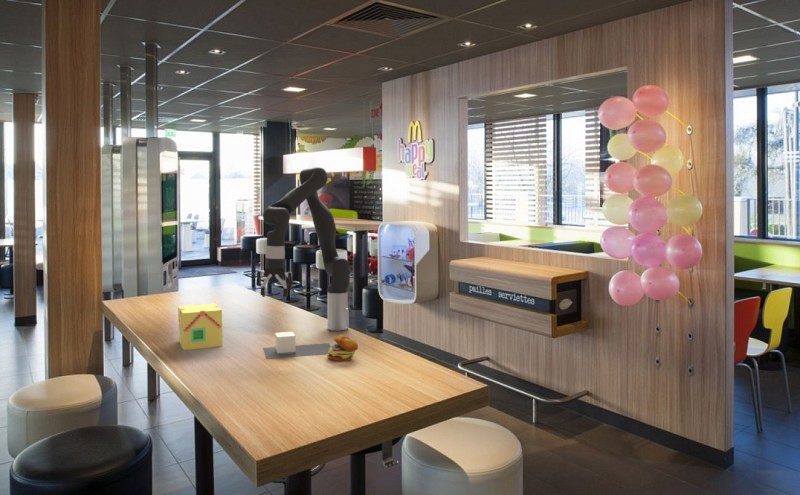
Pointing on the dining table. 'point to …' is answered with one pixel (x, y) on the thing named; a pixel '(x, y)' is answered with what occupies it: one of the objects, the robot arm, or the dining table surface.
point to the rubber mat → (299, 351)
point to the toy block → (200, 326)
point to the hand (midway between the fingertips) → (274, 297)
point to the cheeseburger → (342, 349)
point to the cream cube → (285, 343)
